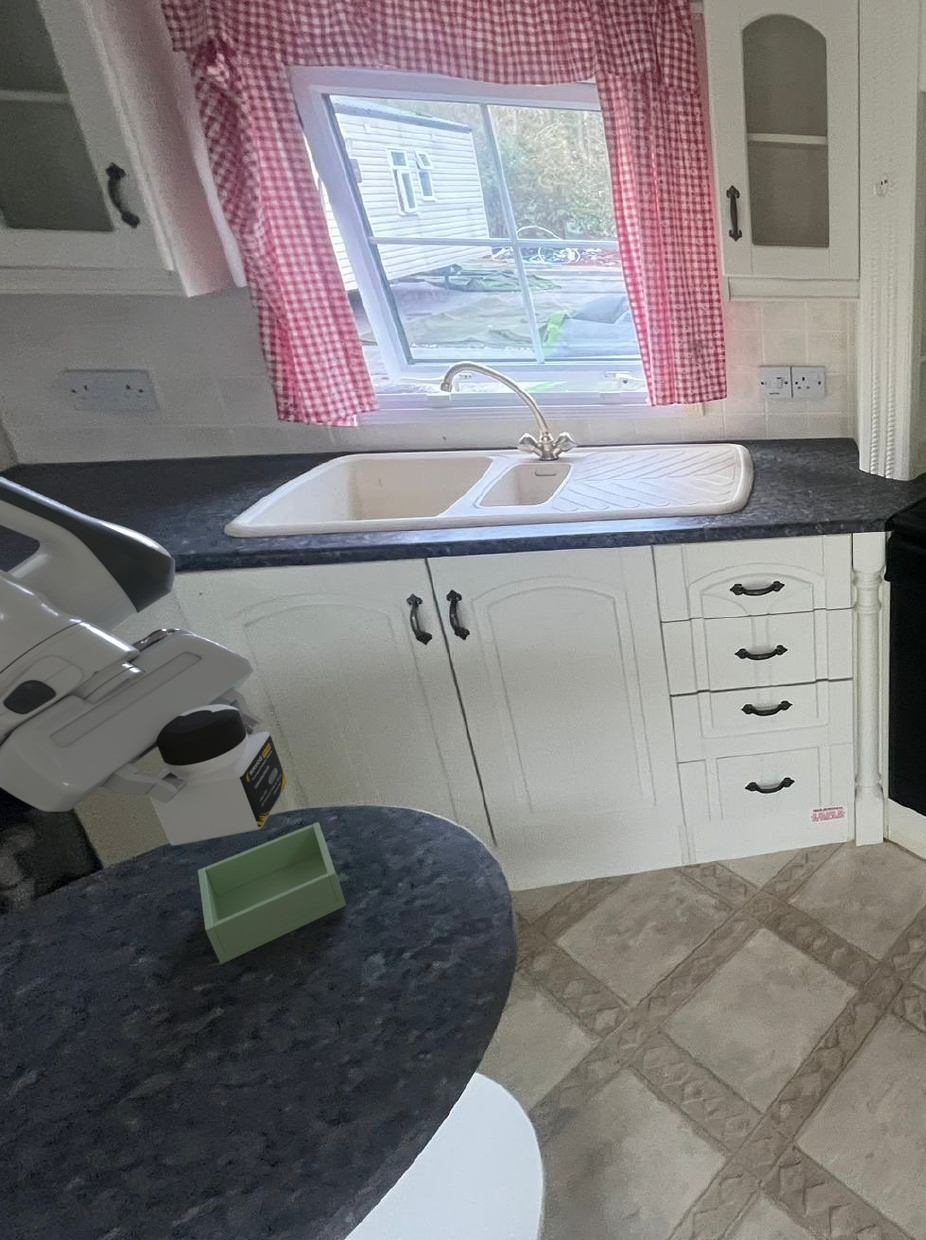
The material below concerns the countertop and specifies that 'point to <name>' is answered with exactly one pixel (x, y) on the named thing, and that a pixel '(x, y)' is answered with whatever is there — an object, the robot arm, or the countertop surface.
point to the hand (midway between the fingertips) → (218, 760)
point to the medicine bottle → (217, 775)
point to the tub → (268, 891)
